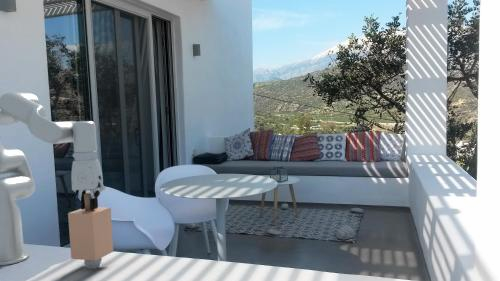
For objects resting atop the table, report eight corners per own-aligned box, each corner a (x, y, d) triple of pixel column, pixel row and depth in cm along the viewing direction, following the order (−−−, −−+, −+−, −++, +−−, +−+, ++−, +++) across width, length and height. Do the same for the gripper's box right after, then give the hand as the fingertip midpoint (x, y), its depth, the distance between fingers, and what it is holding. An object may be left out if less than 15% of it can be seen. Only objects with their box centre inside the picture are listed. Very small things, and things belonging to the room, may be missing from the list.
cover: (71, 258, 152) (66, 195, 150) (90, 249, 161) (86, 190, 160) (95, 260, 149) (91, 196, 147) (113, 251, 158) (109, 191, 157)
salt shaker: (96, 270, 152) (93, 233, 151) (81, 269, 153) (78, 233, 152) (105, 264, 157) (102, 228, 157) (90, 264, 159) (88, 228, 158)
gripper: (59, 158, 152) (62, 210, 153) (99, 157, 146) (102, 212, 148) (74, 155, 159) (77, 205, 160) (112, 155, 153) (116, 207, 155)
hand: (89, 208), depth 154 cm, fingers closed on cover, 3 cm apart
